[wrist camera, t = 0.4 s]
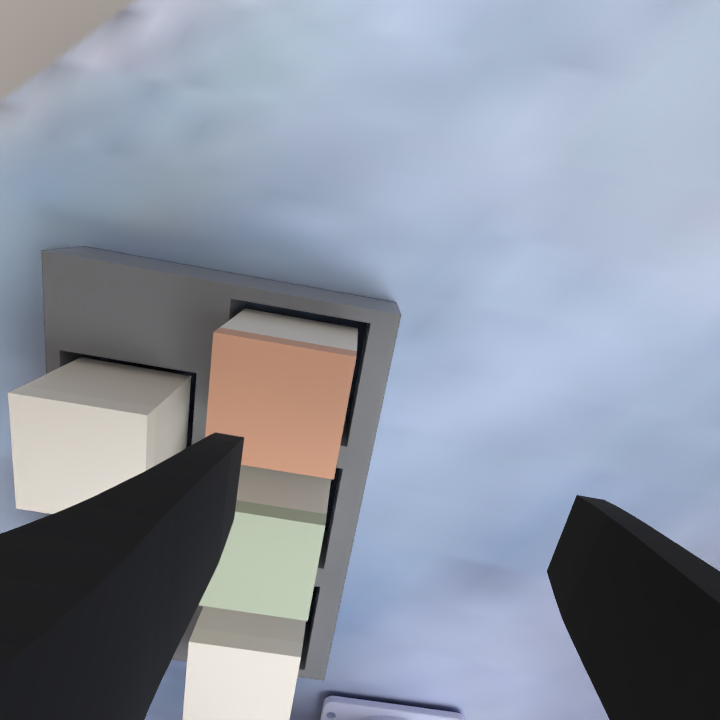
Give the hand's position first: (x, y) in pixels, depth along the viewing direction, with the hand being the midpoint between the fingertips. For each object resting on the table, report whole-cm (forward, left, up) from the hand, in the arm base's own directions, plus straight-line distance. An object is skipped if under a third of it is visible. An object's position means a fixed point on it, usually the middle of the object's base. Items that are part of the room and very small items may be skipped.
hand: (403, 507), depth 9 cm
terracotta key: (0, +4, -8) cm, 9 cm away
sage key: (-6, +4, -8) cm, 11 cm away
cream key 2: (-12, +4, -8) cm, 15 cm away
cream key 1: (-3, +10, -8) cm, 13 cm away
